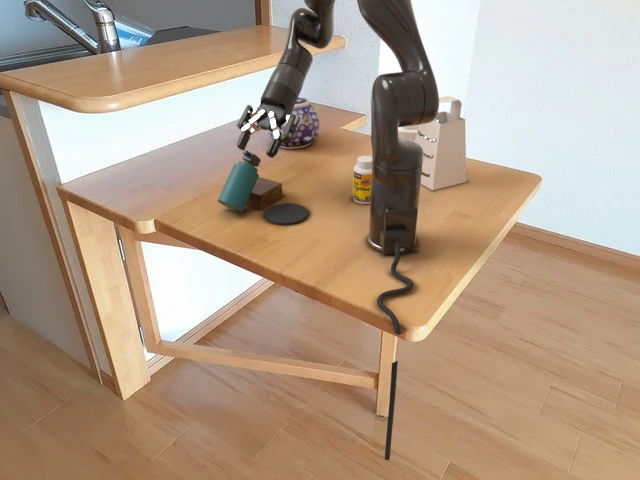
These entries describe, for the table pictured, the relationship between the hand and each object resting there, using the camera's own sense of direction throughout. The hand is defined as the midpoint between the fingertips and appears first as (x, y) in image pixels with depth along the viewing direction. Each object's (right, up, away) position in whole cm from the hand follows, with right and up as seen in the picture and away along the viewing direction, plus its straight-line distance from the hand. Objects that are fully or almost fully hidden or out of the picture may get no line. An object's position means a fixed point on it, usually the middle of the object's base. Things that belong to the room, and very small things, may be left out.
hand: (254, 152), depth 117 cm
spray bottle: (-3, -12, +2) cm, 13 cm away
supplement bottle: (+25, -10, +5) cm, 28 cm away
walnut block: (0, -10, +6) cm, 12 cm away
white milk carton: (+39, +6, +32) cm, 51 cm away
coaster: (+7, -14, -1) cm, 16 cm away
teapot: (+7, +9, +39) cm, 41 cm away
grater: (+44, -4, +15) cm, 47 cm away
